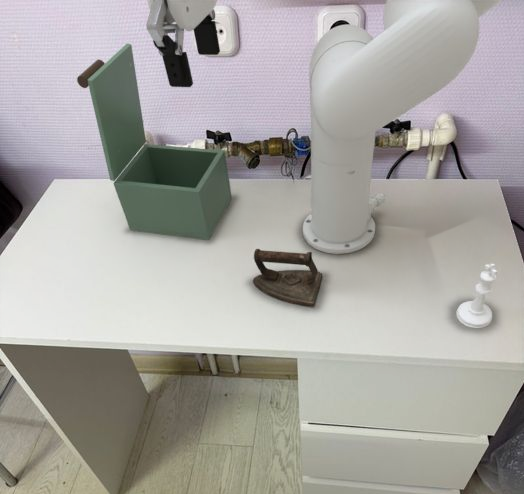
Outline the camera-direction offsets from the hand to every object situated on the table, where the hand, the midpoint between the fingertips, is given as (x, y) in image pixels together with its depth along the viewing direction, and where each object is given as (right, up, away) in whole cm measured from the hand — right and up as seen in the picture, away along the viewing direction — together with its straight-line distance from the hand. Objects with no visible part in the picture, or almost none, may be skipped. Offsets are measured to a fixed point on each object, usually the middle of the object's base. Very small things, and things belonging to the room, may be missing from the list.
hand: (196, 69), depth 67 cm
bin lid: (-14, +1, +15) cm, 20 cm away
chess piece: (+40, -33, +6) cm, 52 cm away
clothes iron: (+13, -28, +13) cm, 33 cm away
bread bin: (-6, -12, +28) cm, 31 cm away
